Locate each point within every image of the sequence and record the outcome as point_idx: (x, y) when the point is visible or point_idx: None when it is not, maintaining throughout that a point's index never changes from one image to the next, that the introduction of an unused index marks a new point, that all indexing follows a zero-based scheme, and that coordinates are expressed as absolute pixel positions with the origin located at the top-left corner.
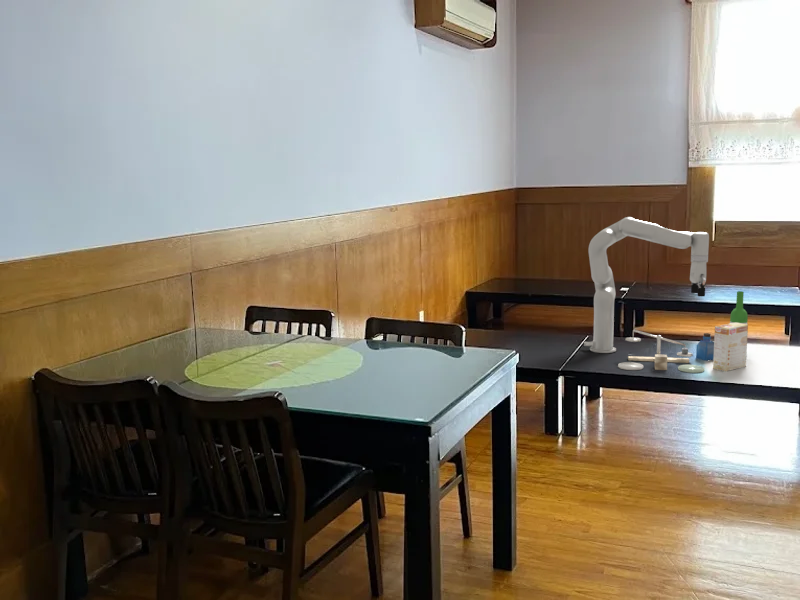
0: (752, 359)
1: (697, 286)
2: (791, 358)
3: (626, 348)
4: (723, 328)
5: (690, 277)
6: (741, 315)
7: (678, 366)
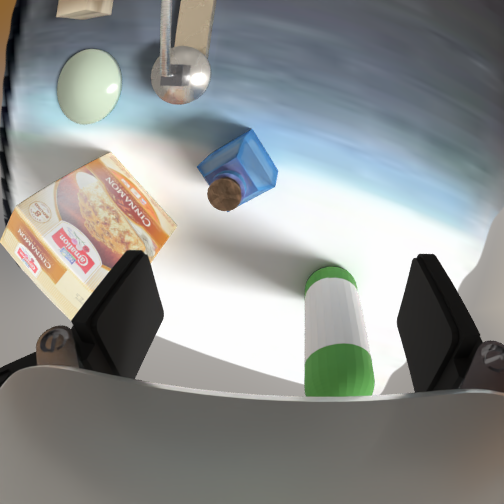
0: (242, 294)
1: (418, 382)
2: (258, 368)
3: None
4: (5, 230)
5: (488, 479)
6: (305, 390)
7: (94, 49)
